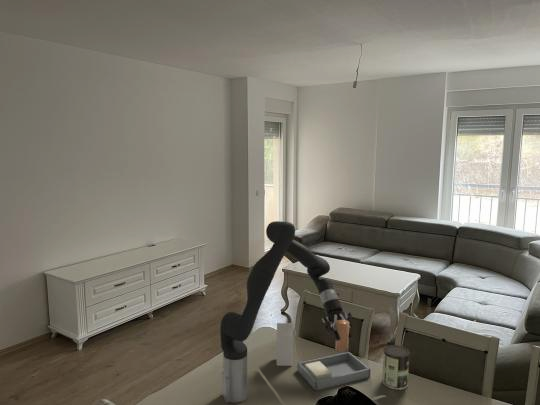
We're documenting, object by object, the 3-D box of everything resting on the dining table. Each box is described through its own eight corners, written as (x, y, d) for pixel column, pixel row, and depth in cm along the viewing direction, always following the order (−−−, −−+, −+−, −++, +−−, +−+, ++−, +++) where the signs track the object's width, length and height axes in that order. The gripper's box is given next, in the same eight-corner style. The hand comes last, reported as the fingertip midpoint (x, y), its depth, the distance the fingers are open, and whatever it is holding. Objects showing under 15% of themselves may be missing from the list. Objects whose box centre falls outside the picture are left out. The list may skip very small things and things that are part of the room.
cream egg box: (316, 385, 166) (316, 376, 166) (304, 373, 175) (305, 364, 175) (331, 381, 169) (331, 372, 168) (319, 369, 178) (319, 361, 178)
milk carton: (292, 367, 181) (293, 326, 179) (276, 367, 182) (276, 326, 179) (292, 359, 188) (292, 320, 186) (276, 359, 189) (277, 319, 186)
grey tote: (315, 392, 163) (315, 382, 162) (297, 372, 178) (297, 362, 177) (370, 379, 173) (370, 369, 172) (348, 361, 188) (348, 351, 187)
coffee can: (406, 377, 175) (408, 346, 173) (409, 391, 165) (411, 358, 163) (381, 374, 177) (382, 343, 175) (382, 388, 167) (384, 355, 165)
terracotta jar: (339, 353, 172) (340, 325, 170) (332, 347, 177) (333, 320, 175) (350, 350, 174) (352, 323, 172) (343, 345, 179) (344, 318, 177)
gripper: (319, 300, 177) (333, 338, 167) (348, 295, 182) (362, 332, 173) (313, 307, 182) (326, 345, 173) (341, 303, 188) (355, 339, 179)
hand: (344, 338), depth 173 cm, fingers closed on terracotta jar, 5 cm apart
